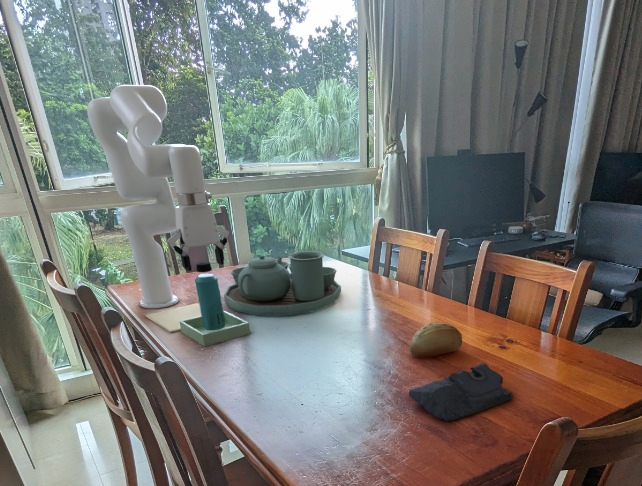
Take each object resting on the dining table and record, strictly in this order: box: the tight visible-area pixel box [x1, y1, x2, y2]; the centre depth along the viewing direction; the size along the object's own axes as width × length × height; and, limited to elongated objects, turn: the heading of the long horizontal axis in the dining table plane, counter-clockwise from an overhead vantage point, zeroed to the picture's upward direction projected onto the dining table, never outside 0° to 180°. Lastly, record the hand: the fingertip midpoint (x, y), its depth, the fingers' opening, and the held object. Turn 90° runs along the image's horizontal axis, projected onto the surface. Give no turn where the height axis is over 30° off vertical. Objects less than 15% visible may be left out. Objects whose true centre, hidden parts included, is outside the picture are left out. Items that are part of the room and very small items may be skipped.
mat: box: [145, 302, 202, 334], centre depth 163 cm, size 20×20×1 cm
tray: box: [179, 309, 251, 347], centre depth 150 cm, size 16×15×3 cm
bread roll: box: [409, 321, 463, 358], centre depth 132 cm, size 10×15×8 cm, turn 114°
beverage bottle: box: [194, 261, 225, 330], centre depth 146 cm, size 6×7×20 cm
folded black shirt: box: [408, 362, 513, 422], centre depth 112 cm, size 15×22×5 cm
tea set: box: [223, 250, 342, 317], centre depth 174 cm, size 40×40×16 cm
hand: (204, 266), depth 141 cm, fingers open, 9 cm apart
